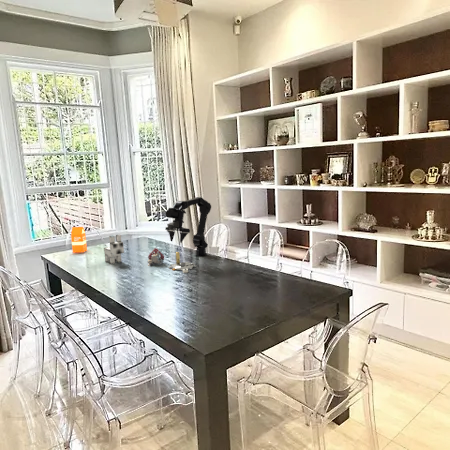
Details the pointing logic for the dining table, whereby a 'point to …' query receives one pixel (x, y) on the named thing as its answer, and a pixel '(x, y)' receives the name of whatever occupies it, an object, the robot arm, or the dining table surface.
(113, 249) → the toy llama
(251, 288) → the dining table surface
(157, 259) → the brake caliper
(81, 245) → the orange juice
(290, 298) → the dining table surface
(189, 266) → the sprocket
